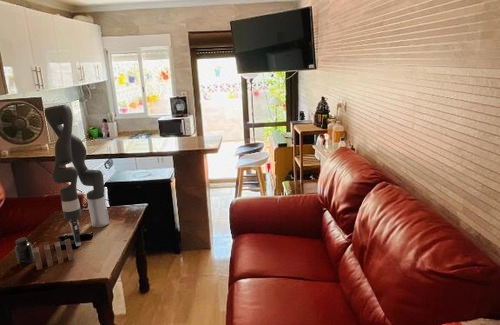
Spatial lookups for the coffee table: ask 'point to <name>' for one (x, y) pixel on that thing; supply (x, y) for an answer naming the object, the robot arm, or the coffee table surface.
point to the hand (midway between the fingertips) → (77, 239)
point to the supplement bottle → (24, 251)
